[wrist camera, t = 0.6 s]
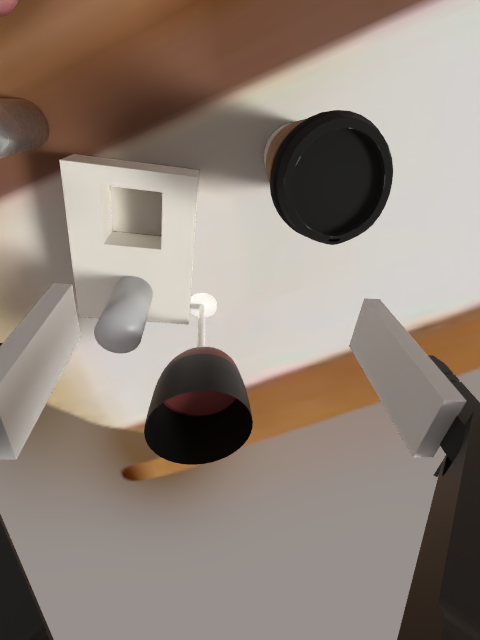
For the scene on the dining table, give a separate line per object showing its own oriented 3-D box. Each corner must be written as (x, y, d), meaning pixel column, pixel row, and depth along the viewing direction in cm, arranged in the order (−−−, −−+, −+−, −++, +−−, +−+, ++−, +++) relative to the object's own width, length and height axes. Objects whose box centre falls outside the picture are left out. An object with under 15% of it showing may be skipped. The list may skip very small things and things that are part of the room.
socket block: (74, 153, 34) (17, 177, 24) (199, 169, 36) (195, 198, 25) (88, 299, 42) (51, 362, 32) (189, 306, 44) (184, 369, 34)
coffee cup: (252, 200, 38) (274, 252, 25) (250, 108, 33) (277, 114, 20) (329, 196, 38) (390, 244, 25) (338, 104, 34) (417, 107, 21)
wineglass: (154, 305, 44) (121, 433, 27) (205, 260, 41) (203, 371, 24) (200, 342, 47) (195, 477, 30) (249, 303, 45) (274, 426, 28)
